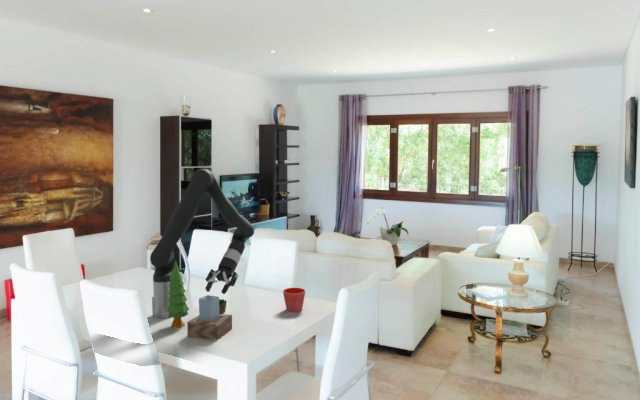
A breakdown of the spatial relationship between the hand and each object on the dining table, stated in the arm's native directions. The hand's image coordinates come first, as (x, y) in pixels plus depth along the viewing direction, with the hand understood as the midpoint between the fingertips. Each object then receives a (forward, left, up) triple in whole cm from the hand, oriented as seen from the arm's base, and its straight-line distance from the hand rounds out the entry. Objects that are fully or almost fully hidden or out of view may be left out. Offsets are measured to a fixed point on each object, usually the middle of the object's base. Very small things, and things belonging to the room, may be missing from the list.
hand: (214, 292), depth 228 cm
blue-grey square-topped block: (-1, -4, -11) cm, 12 cm away
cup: (-4, +17, -17) cm, 24 cm away
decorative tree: (-18, +3, -17) cm, 25 cm away
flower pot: (+29, +34, -17) cm, 47 cm away
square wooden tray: (-1, -4, -17) cm, 18 cm away
